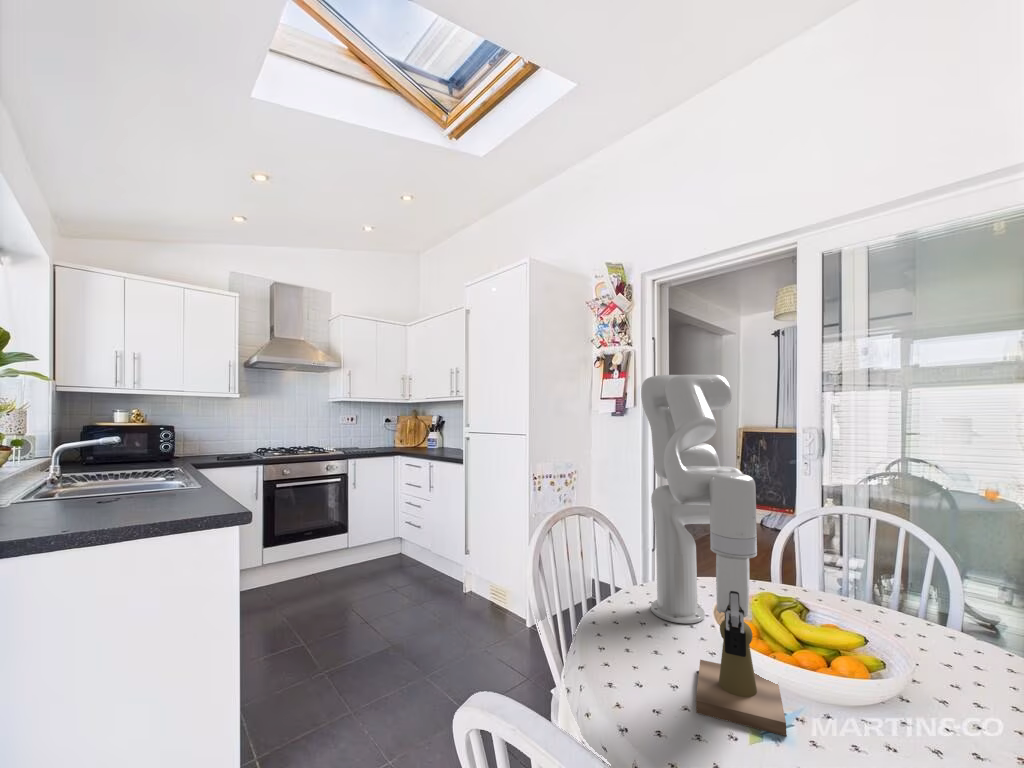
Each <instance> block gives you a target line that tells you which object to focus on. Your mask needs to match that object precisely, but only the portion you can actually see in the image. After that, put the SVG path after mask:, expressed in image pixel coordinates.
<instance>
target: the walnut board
mask: <svg viewBox="0 0 1024 768" xmlns="http://www.w3.org/2000/svg"><path fill="white" fill-rule="evenodd" d="M720 667H721V663H719V662H714V661H710V660H709V661H708V660H704V659H700V660H699V667H698V675H697V676H698V678H697V685H696V686H697V687H696V695H695V696H696V697H695V711H696V712H695V713H696V714H697V715H698V714H699V715H703V716H706V717H711V718H714V719H718V720H722V721H727V722H730V723H733V724H738V725H742V726H745V727H749V728H753V729H756V728H757V730H759V731H764V732H768V733H773V734H776V735H780V736H784V737H787V733H788V732H787V721H786V716H785V710H784V706H783V705H784V704H783V700H782V695H781V690H780V684H779V683H778V684H779V685H778V684H775V683H773V682H771V681H769V680H766V679H764V678H762V677H760V676H759V675H757V674H755V673H754V676H755V681H756V687H757V693H756V695H754V696H752V697H740V696H736V695H733V694H730V693H728V692H726V691H725V690H724V689H722V688H721V686H720V685H719V676H720Z"/></svg>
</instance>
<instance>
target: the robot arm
mask: <svg viewBox="0 0 1024 768" xmlns="http://www.w3.org/2000/svg"><path fill="white" fill-rule="evenodd" d="M640 395H641V396H640V397H641V398H640V399H641V404H642V408H643V411H644V413H645V416H646V419H647V421H648V424H649V426H650V431H651V444H652V454H653V457H652V458H653V464H654V470H655V472H656V475H657V477H659V478H661V479H664V480H667V484H666V485H661V486H658V487H656V488H654V490H653V491H652V493H651V497H650V498H651V501H650V502H651V508H652V515H653V520H654V529H655V550H656V551H655V553H656V555H655V556H656V558H655V559H656V592H657V593H656V594H657V596H656V597H657V599H656V600H653V601H652V603H651V604H650V610H651V612H652V613H653V615H654V616H656V617H657V618H660V619H662V620H664V621H667V622H672V623H677V624H684V625H687V624H696V623H700V622H701V621H704V619H705V615H706V614H705V610H704V608H703V607H702V606H700V605H699V604H698V578H697V577H698V575H697V573H698V571H697V570H698V569H697V545H696V541H695V539H694V536H693V535H692V534H691V532H690V531H688V530H687V528H686V527H685V525H691V524H693V525H709V535H710V536H709V540H710V541H709V543H710V544H709V546H710V547H709V548H710V551H711V552H713V553H714V554H716V556H715V558H716V560H715V561H716V562H715V580H716V581H715V583H716V584H715V586H716V588H715V589H716V591H715V592H716V611H717V613H718V614H721V613H724V620H726V628H724V632H725V652H726V653H727V654H732V655H737V656H741V657H745V656H746V632H745V631H744V622H745V619H744V618H746V617H748V615H749V606H750V605H749V604H750V584H751V583H750V559H753V558H755V557H757V555H758V545H757V544H758V543H757V542H758V541H757V540H758V539H757V493H756V492H757V490H756V481H755V479H754V478H753V477H751V476H750V475H747V474H744V473H743V471H741V470H740V469H739V468H738V467H737V468H736V467H734V466H728V465H727V466H723V465H721V464H720V459H719V456H718V453H717V451H716V449H715V448H714V447H713V446H712V445H710V444H708V443H705V442H707V441H709V440H711V438H713V437H714V435H715V434H716V432H717V430H718V429H717V428H718V424H717V421H716V419H715V416H714V413H713V412H712V411H721V410H725V409H727V408H728V407H729V406H730V404H731V402H732V397H733V396H732V395H733V393H732V388H731V386H730V384H729V381H728V380H727V379H726V378H725V377H724V376H722V375H720V374H704V373H703V374H660V375H653V376H649V377H647V378H645V379H644V380H643V382H642V385H641V390H640ZM729 625H730V626H729ZM729 628H730V629H729Z"/></svg>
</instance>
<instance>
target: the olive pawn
mask: <svg viewBox="0 0 1024 768" xmlns="http://www.w3.org/2000/svg"><path fill="white" fill-rule="evenodd" d="M729 626H730V625H729ZM724 628H726V620H725V619H724V620H722V621H721V623H720V626H719V633H720V636H721V638H722V640H723V641H722V642H723V643H722V649H721V659H720V664H721V667H720V676H719V685H720V686H721V688H722V689H724V690H725V691H726V692H728V693H730V694H733V695H736V696H740V697H752V696H754V695H756V693H757V687H756V681H755V676H754V671H755V670H754V664H753V659H752V653H751V647H750V644H751V643H752V641H753V637H754V636H753V631H752V629H751V627H750V625H749V624H748V623H746V622H745V621H744V631H745V632H746V656H745V657H741V656H737V655H732V654H727V653H726V652H725V632H724ZM729 629H730V628H729Z"/></svg>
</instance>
